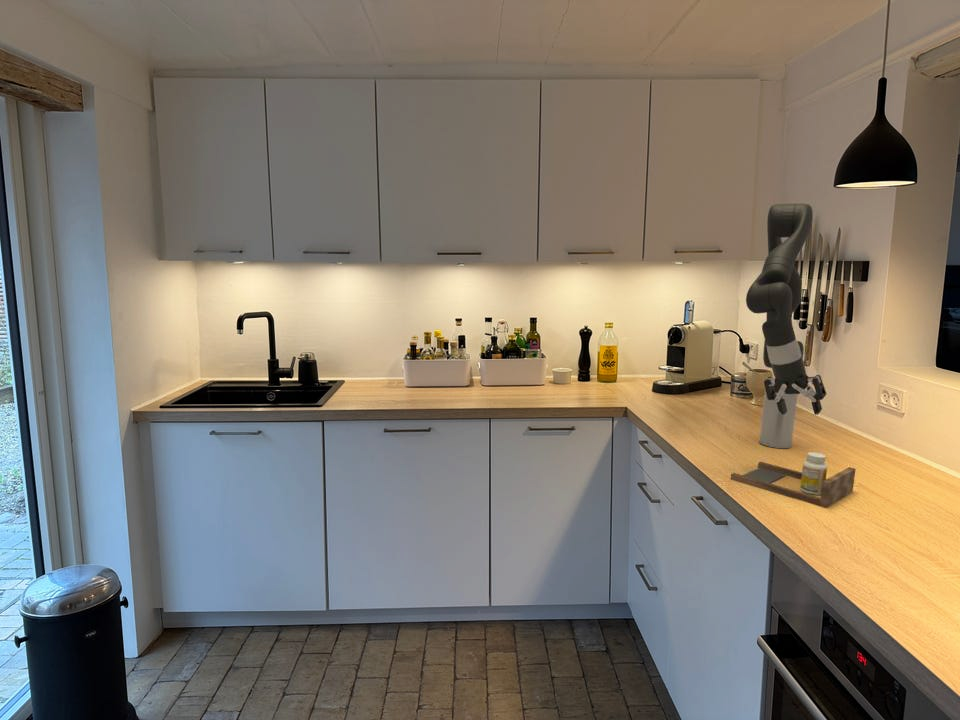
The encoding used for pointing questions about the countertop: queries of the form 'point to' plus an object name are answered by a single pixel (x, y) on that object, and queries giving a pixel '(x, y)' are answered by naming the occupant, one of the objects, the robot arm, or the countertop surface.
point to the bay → (830, 493)
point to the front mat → (765, 475)
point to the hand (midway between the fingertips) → (800, 413)
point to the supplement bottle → (813, 473)
